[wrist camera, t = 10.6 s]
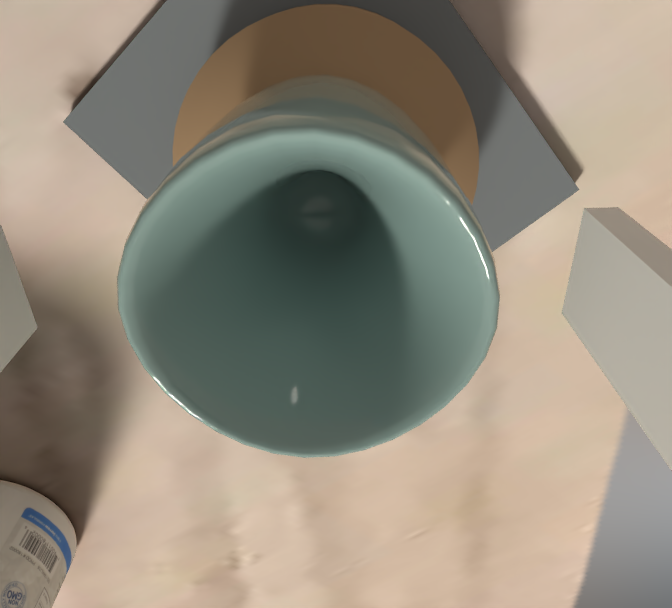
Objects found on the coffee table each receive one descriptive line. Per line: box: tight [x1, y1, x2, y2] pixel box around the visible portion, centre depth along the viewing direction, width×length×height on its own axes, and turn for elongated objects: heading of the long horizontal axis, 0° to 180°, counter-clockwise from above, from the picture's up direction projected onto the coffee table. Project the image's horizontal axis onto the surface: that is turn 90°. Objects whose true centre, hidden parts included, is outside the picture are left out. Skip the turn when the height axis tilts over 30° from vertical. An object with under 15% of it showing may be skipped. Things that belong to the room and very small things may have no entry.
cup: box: [117, 74, 500, 458], centre depth 16 cm, size 8×8×10 cm
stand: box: [63, 0, 579, 252], centre depth 22 cm, size 16×14×4 cm
